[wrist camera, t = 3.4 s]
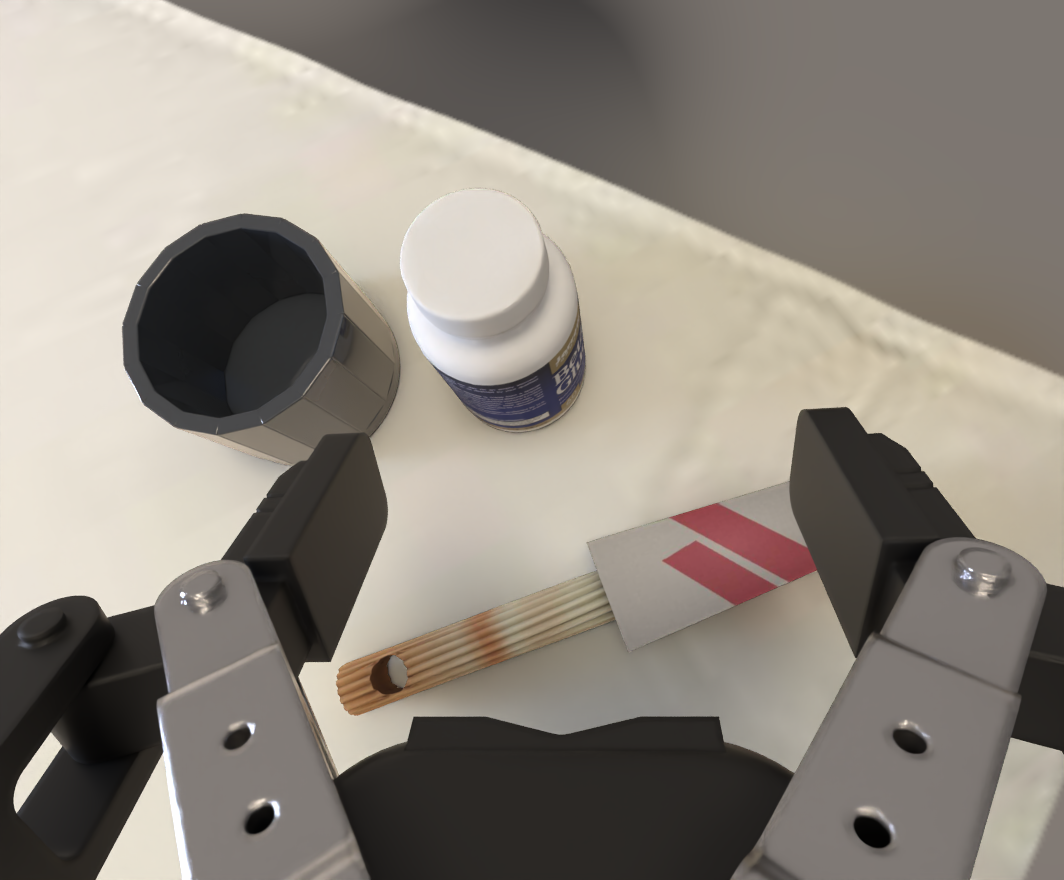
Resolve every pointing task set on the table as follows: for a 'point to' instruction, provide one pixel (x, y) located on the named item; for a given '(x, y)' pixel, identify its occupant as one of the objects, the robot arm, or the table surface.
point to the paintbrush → (610, 595)
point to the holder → (258, 340)
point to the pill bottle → (494, 308)
